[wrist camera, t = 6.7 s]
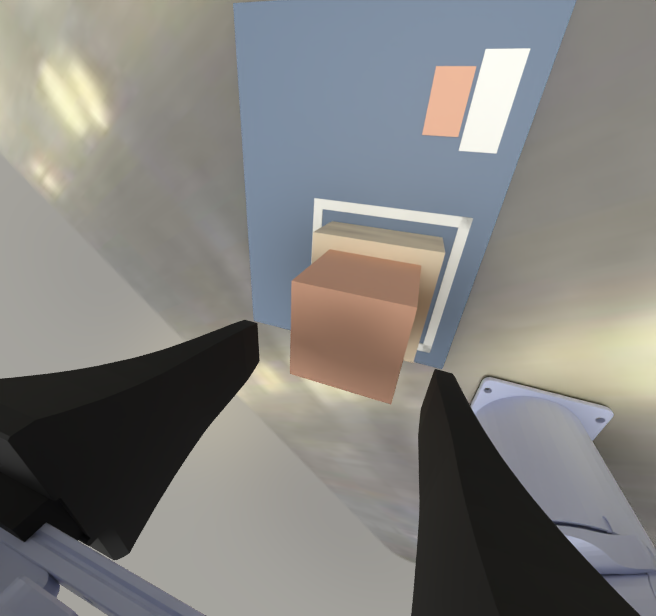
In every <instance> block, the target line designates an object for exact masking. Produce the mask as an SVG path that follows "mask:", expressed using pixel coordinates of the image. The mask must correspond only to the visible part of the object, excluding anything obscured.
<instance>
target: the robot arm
mask: <svg viewBox="0 0 656 616" xmlns="http://www.w3.org/2000/svg"><path fill="white" fill-rule="evenodd" d="M258 363H259V344H258V327H257V323H255V322H251V321H247V320H243V321H239V322H237V323H234V324H231V325H228V326H226V327H223V328H221V329H218V330H216V331H213V332H210V333H208V334H205V335H203V336H200V337H198V338H195V339H192V340H189V341H186V342H184V343H181V344H178V345H175V346H172V347H170V348H166V349H164V350H160V351H157V352H154V353H150V354H146V355H143V356H139V357H135V358H132V359H127V360H123V361H118V362H114V363H109V364H104V365H100V366H94V367H89V368H83V369H77V370H71V371H64V372H58V373H50V374H42V375H33V376H24V377H15V378H4V379H0V616H78V615H77V614H76V613H75V612H74V611H73V610H72V609H70V608H69V607H68V606H66V605H65V604H64V603H62V602H61V601H59V600H58V599H57V595H58V592H59V588H60V585H59V584H61V585H62V586H64V587H65V588H67V589H68V590H70V591H71V592H73V593H74V594H76V595H77V596H79V597H81V598H82V599H84V600H85V601H87V602H88V603H90V604H91V605H93V606H95V607H96V608H98V609H99V610H101V611H102V612H104V613H105V614H107V615H108V616H206V615H204V614H202V613H201V612H199V611H197V610H195V609H194V608H192V607H190V606H188V605H187V604H185V603H183V602H182V601H180V600H178V599H176V598H175V597H173V596H171V595H169V594H168V593H166V592H165V591H163V590H161V589H159V588H158V587H156V586H154V585H152V584H151V583H149V582H147V581H145V580H144V579H142V578H140V577H139V576H137V575H135V574H134V573H132V572H130V571H128V570H127V569H125V568H123V567H122V566H120V565H118V564H116V563H115V562H113V561H111V560H110V559H108V558H106V557H104V556H103V555H101V554H99V553H98V552H96V551H94V550H92V549H91V548H89V547H87V546H86V545H88V546H91V547H92V548H94V549H95V550H97V551H99V552H101V553H103V554H104V555H106V556H107V557H109V558H111V559H113V560H118V559H120V558H122V557H124V556H126V555H127V554H129V553H130V551H131V549H132V548H133V546H134V544H135V542H136V540H137V539H138V537H139V535H140V533H141V531H142V530H143V528H144V526H145V525H146V523H147V521H148V519H149V518H150V516H151V514H152V512H153V511H154V508H155V507H156V505H157V504H158V502H159V500H160V499H161V497H162V496H163V494H164V492H165V491H166V489H167V487H168V486H169V484H170V483H171V481H172V479H173V478H174V476H175V475H176V473H177V472H178V470H179V469H180V467H181V466H182V464H183V462H184V461H185V459H186V458H187V456H188V455H189V453H190V452H191V451H192V449H193V448H194V446H195V445H196V443H197V442H198V441H199V439H200V438H201V436H202V435H203V433H204V432H205V431H206V429H207V428H208V427H209V426H210V424H211V423H212V422H213V421H214V419H215V418H216V417H217V416H218V415H219V414H220V412H221V411H222V410H223V409H224V408H225V406H226V405H227V404H228V403H229V402H230V401H231V399H232V398H233V397H234V396H235V395H236V393H237V392H238V391H239V390H240V389H241V387H242V386H243V385H244V384H245V383H246V381H247V380H248V379H249V377H250V376H251V374H252V373H253V371H254V369H255V368H256V366H257V364H258ZM485 388H490V389H488V390H486V389H485ZM613 416H614V414H613V412H612V411H611V409H610V408H608V407H606V406H602V405H598V404H594V403H591V402H587V401H583V400H579V399H575V398H571V397H567V396H563V395H559V394H555V393H551V392H547V391H543V390H539V389H535V388H532V387H528V386H524V385H520V384H516V383H512V382H508V381H504V380H500V379H496V378H492V377H486V378H484V379H483V380H482V382H481V384H480V386H479V388H478V390H477V393H476V395H475V397H474V399H473V401H472V403H471V405H469V403H468V401H467V399H466V398H465V396H464V394H463V392H462V390H461V388H460V386H459V384H458V382H457V380H456V378H455V376H454V375H453V374H452V373H448V372H444V371H440V370H437V369H435V370H434V372H433V375H432V378H431V381H430V384H429V387H428V390H427V393H426V396H425V399H424V401H423V404H422V407H421V413H420V423H419V433H418V447H419V495H420V507H419V528H418V542H417V555H416V568H415V580H414V592H413V603H412V614H411V616H656V548H655V547H654V545H653V543H652V542H651V540H650V538H649V537H648V535H647V533H646V532H645V530H644V528H643V526H642V525H641V523H640V521H639V520H638V518H637V516H636V515H635V513H634V511H633V509H632V508H631V506H630V504H629V503H628V501H627V499H626V498H625V496H624V494H623V492H622V491H621V489H620V487H619V486H618V484H617V482H616V481H615V479H614V477H613V476H612V474H611V472H610V470H609V469H608V467H607V465H606V464H605V462H604V460H603V459H602V457H601V455H600V453H599V452H598V450H597V448H596V447H595V445H594V443H593V442H592V441H593V440H594V439H595V437H596V436H597V435H598V434H599V433H600V432H601V430H602V429H603V428H604V427H605V426H606V424H607V423H608V422H609V421H610V420H611V419H612V417H613ZM596 418H599V419H596ZM78 540H79V541H81V542H83V543H84V544H86V545H84V544H82V543H81V542H79V541H78Z"/></svg>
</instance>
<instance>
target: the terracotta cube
mask: <svg viewBox="0 0 656 616" xmlns="http://www.w3.org/2000/svg"><path fill="white" fill-rule="evenodd" d="M420 274H421V265H416V264H410V263H405V262H399V261H393V260H388V259H382V258H376V257H371V256H365V255H359V254H354V253H348V252H342V251H337V250H331V249H329V250H328V251H327V252H326V253H325V254H323V255H322V256H321V257H320V258H318V259H317V260H316V261H315V262H314V263H312V264H311V265H310V266H309V267H308V268H306V269H305V270H304V271H303V272H302V273H300V274H299V275H298V276H297V277H296V278H294V279H293V280H292V281H291V345H290V374H293V375H296V376H299V377H303V378H306V379H309V380H312V381H316V382H319V383H322V384H326V385H329V386H332V387H336V388H339V389H342V390H345V391H349V392H352V393H355V394H359V395H362V396H365V397H368V398H372V399H375V400H378V401H382V402H385V403H388V404H391V403H392V399H393V396H394V392H395V388H396V385H397V381H398V377H399V374H400V370H401V366H402V363H403V359H404V355H405V352H406V348H407V344H408V341H409V337H410V333H411V330H412V326H413V322H414V319H415V315H416V311H417V307H418V296H419V285H420Z"/></svg>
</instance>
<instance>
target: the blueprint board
mask: <svg viewBox="0 0 656 616" xmlns="http://www.w3.org/2000/svg"><path fill="white" fill-rule="evenodd" d="M575 3H576V0H277V1H261V2H245V3H233V8H234V23H235V39H236V54H237V69H238V85H239V100H240V115H241V131H242V146H243V161H244V177H245V192H246V207H247V223H248V238H249V253H250V269H251V284H252V300H253V315H254V321H257V322H261V323H265V324H269V325H273V326H277V327H280V328H284V329H288V330H291V281H292V280H293V279H294V278H296V277H297V276H298V275H299V274H300V273H302V272H303V271H304V270H305V269H306V268H308V267H309V266H310V265H311V264H312V244H313V232H314V231H316V230H318V229H319V228H321V227H323V226H325V225H326V224H328V223H330V222H332V221H334V222H341V223H348V224H354V225H361V226H368V227H375V228H382V229H389V230H395V231H402V232H409V233H416V234H423V235H430V236H436V237H443V243H444V248H445V256H444V259H443V263H442V266H441V270H440V273H439V276H438V280H437V283H436V287H435V290H434V294H433V297H432V300H431V304H430V307H429V311H428V314H427V317H426V321H425V324H424V328H423V331H422V335H421V338H420V341H419V345H418V348H417V352H416V355H415V359H414V362H416V363H420V364H424V365H428V366H432V367H435V368H439V369H442V368H443V366H444V363H445V360H446V357H447V355H448V352H449V349H450V346H451V344H452V341H453V338H454V335H455V333H456V330H457V327H458V324H459V322H460V319H461V316H462V314H463V311H464V308H465V305H466V303H467V300H468V297H469V294H470V292H471V289H472V286H473V283H474V281H475V278H476V275H477V272H478V270H479V267H480V264H481V261H482V259H483V256H484V253H485V250H486V248H487V245H488V242H489V239H490V237H491V234H492V231H493V228H494V226H495V223H496V220H497V217H498V215H499V212H500V209H501V206H502V204H503V201H504V198H505V195H506V193H507V190H508V187H509V184H510V182H511V179H512V176H513V173H514V171H515V168H516V165H517V162H518V160H519V157H520V154H521V151H522V149H523V146H524V143H525V140H526V138H527V135H528V132H529V129H530V127H531V124H532V121H533V118H534V116H535V113H536V110H537V107H538V105H539V102H540V99H541V96H542V94H543V91H544V88H545V85H546V83H547V80H548V77H549V74H550V72H551V69H552V66H553V63H554V61H555V58H556V55H557V52H558V50H559V47H560V44H561V41H562V39H563V36H564V33H565V30H566V28H567V25H568V22H569V19H570V17H571V14H572V11H573V8H574V6H575Z"/></svg>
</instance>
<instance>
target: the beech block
mask: <svg viewBox="0 0 656 616" xmlns="http://www.w3.org/2000/svg"><path fill="white" fill-rule="evenodd" d="M329 249H331V250H337V251H342V252H348V253H354V254H359V255H365V256H371V257H376V258H382V259H388V260H393V261H399V262H405V263H410V264H416V265H421V274H420V285H419V296H418V307H417V311H416V315H415V319H414V322H413V326H412V330H411V333H410V337H409V341H408V344H407V348H406V352H405V355H404V359H403V360H404V361H408V362H412V363H413V362H414V359H415V355H416V352H417V348H418V345H419V341H420V338H421V335H422V331H423V328H424V324H425V321H426V317H427V314H428V311H429V307H430V304H431V300H432V297H433V294H434V290H435V287H436V283H437V280H438V276H439V273H440V270H441V266H442V263H443V259H444V256H445V248H444V243H443V237H436V236H430V235H423V234H416V233H409V232H402V231H395V230H389V229H382V228H375V227H368V226H361V225H354V224H348V223H341V222H334V221H332V222H330V223H328V224H326V225H325V226H323V227H321V228H319V229H318V230H316V231H314V232H313V244H312V263H314V262H315V261H316V260H317V259H318V258H320V257H321V256H322V255H323V254H325V253H326V252H327V251H328V250H329Z"/></svg>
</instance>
